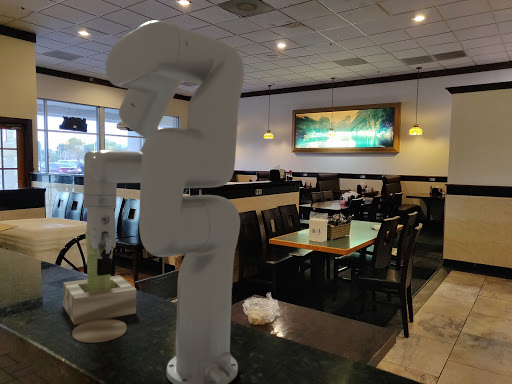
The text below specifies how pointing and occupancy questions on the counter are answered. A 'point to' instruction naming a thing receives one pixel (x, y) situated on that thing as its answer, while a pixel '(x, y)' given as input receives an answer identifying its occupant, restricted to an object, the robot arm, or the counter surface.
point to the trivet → (99, 331)
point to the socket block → (98, 300)
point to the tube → (95, 270)
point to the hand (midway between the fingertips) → (98, 269)
